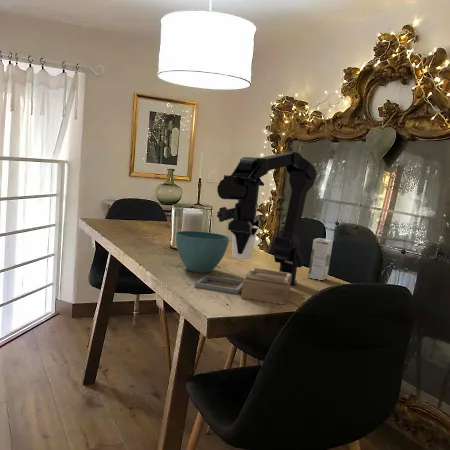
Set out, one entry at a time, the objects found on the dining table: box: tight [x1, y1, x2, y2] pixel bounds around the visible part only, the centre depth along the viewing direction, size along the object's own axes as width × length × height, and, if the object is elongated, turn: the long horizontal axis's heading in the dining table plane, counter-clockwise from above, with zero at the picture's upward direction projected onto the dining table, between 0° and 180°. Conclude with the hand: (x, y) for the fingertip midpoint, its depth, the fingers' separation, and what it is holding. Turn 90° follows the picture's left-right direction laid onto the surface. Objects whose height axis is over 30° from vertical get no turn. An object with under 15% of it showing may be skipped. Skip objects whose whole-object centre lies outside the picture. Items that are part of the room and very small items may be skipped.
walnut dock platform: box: [240, 267, 292, 305], centre depth 143 cm, size 20×12×6 cm, turn 167°
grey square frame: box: [194, 274, 243, 295], centre depth 147 cm, size 13×13×1 cm
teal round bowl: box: [175, 230, 230, 274], centre depth 166 cm, size 18×18×12 cm
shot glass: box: [231, 233, 256, 260], centre depth 144 cm, size 7×7×7 cm
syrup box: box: [307, 237, 334, 281], centre depth 174 cm, size 6×6×14 cm
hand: (242, 252), depth 145 cm, fingers closed on shot glass, 6 cm apart
